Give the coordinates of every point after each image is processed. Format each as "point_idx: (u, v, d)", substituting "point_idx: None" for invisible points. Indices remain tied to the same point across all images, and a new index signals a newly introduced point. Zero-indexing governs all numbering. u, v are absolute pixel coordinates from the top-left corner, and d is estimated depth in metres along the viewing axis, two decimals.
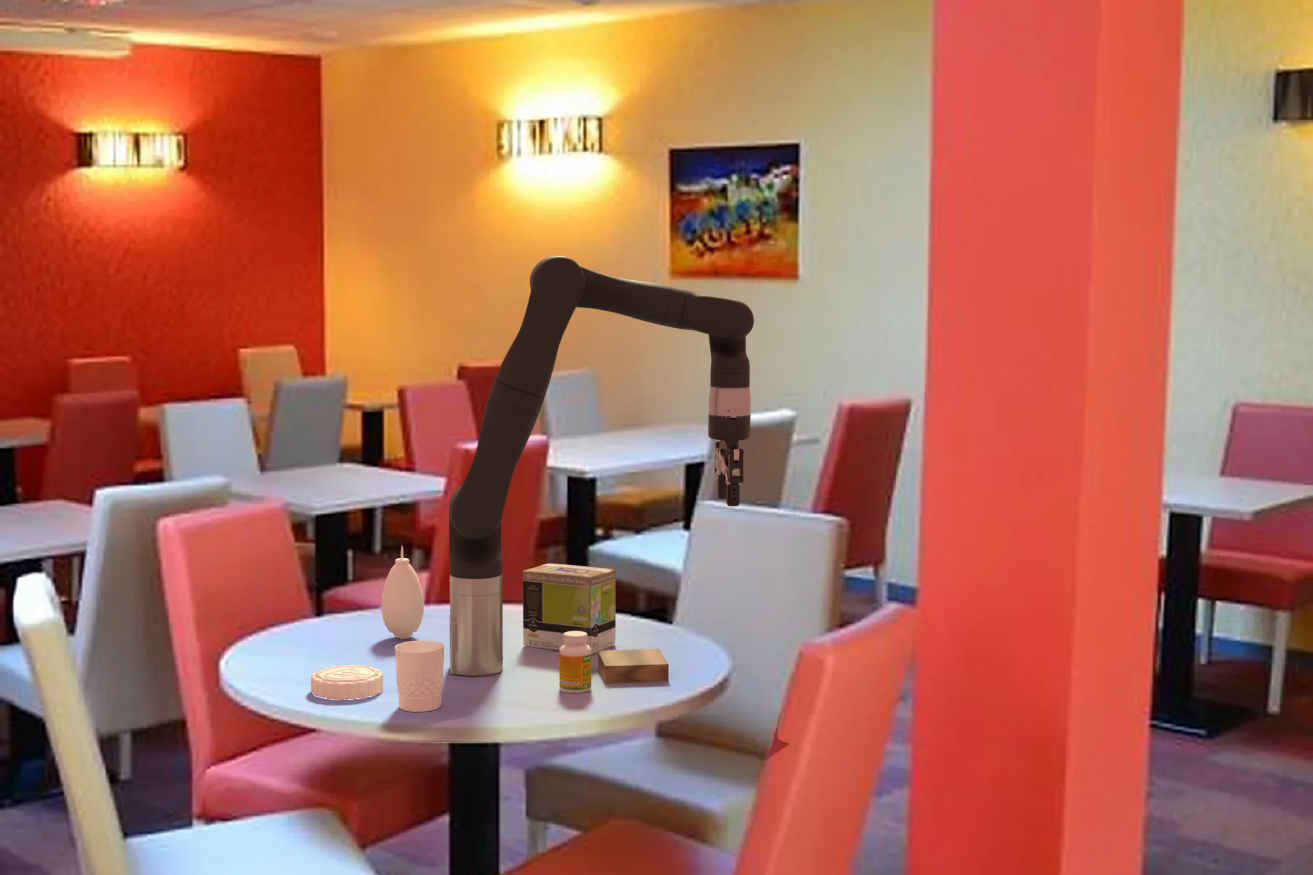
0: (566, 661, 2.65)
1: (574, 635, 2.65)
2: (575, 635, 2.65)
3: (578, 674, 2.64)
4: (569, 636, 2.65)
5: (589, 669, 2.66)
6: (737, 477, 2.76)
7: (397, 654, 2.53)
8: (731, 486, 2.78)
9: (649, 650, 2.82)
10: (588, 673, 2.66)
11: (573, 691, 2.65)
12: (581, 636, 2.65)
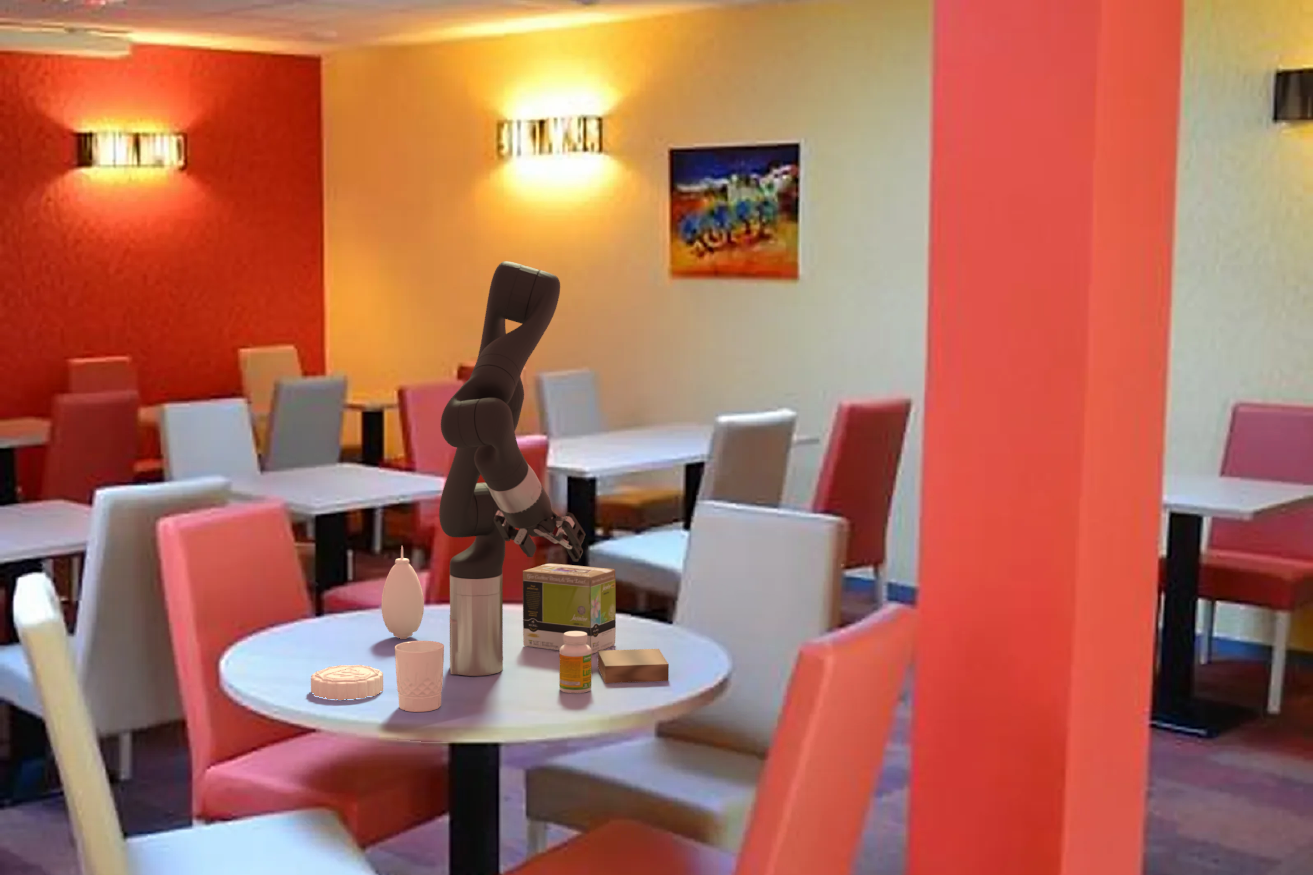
0: (566, 661, 2.65)
1: (574, 635, 2.65)
2: (575, 635, 2.65)
3: (578, 674, 2.64)
4: (569, 636, 2.65)
5: (589, 669, 2.66)
6: None
7: (397, 654, 2.53)
8: None
9: (649, 650, 2.82)
10: (588, 673, 2.66)
11: (573, 691, 2.65)
12: (581, 636, 2.65)
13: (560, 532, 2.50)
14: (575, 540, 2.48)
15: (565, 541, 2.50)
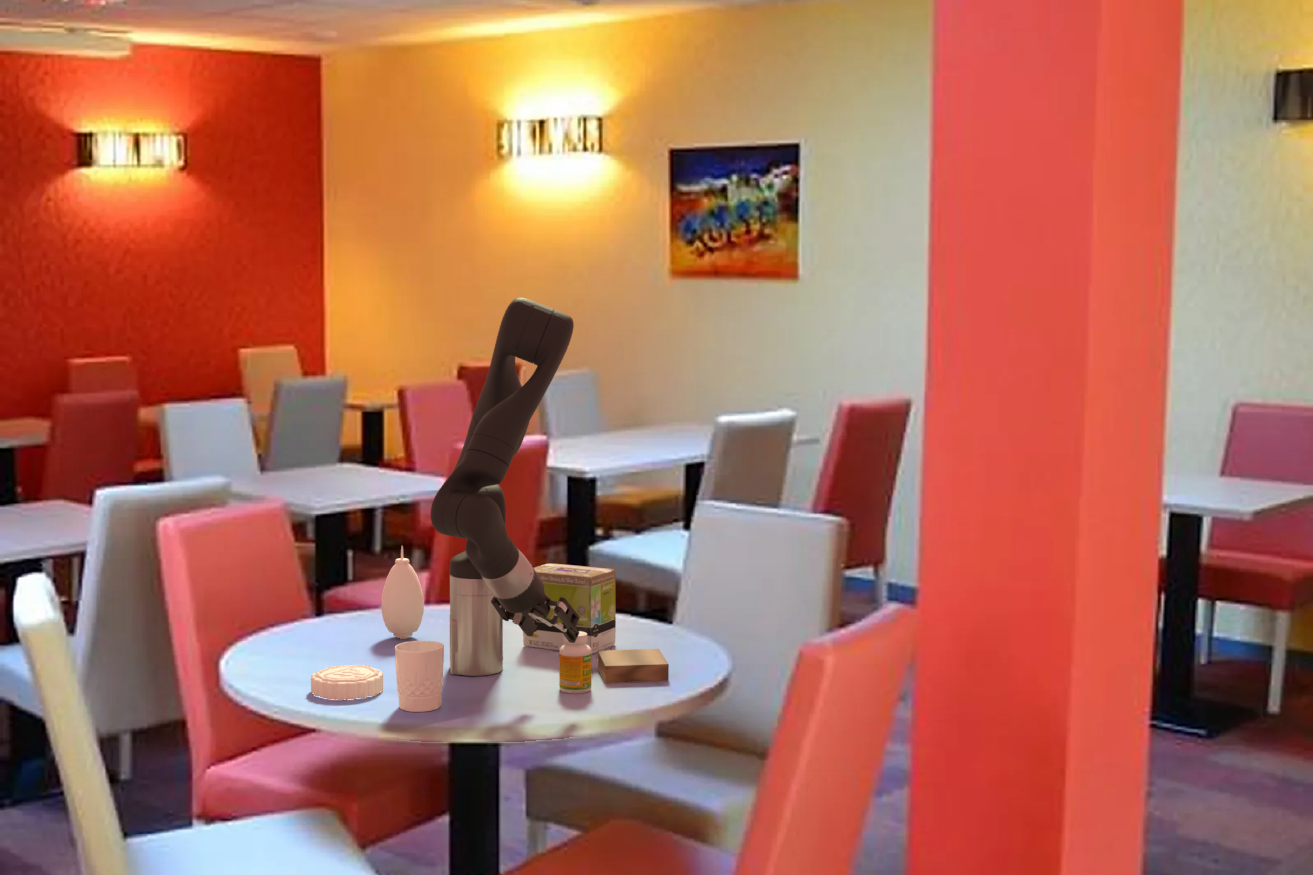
0: (566, 661, 2.65)
1: None
2: None
3: (578, 674, 2.64)
4: None
5: (589, 669, 2.66)
6: None
7: (397, 654, 2.53)
8: None
9: (649, 650, 2.82)
10: (588, 673, 2.66)
11: (573, 691, 2.65)
12: (581, 636, 2.65)
13: (555, 615, 2.54)
14: (568, 624, 2.52)
15: (559, 624, 2.54)
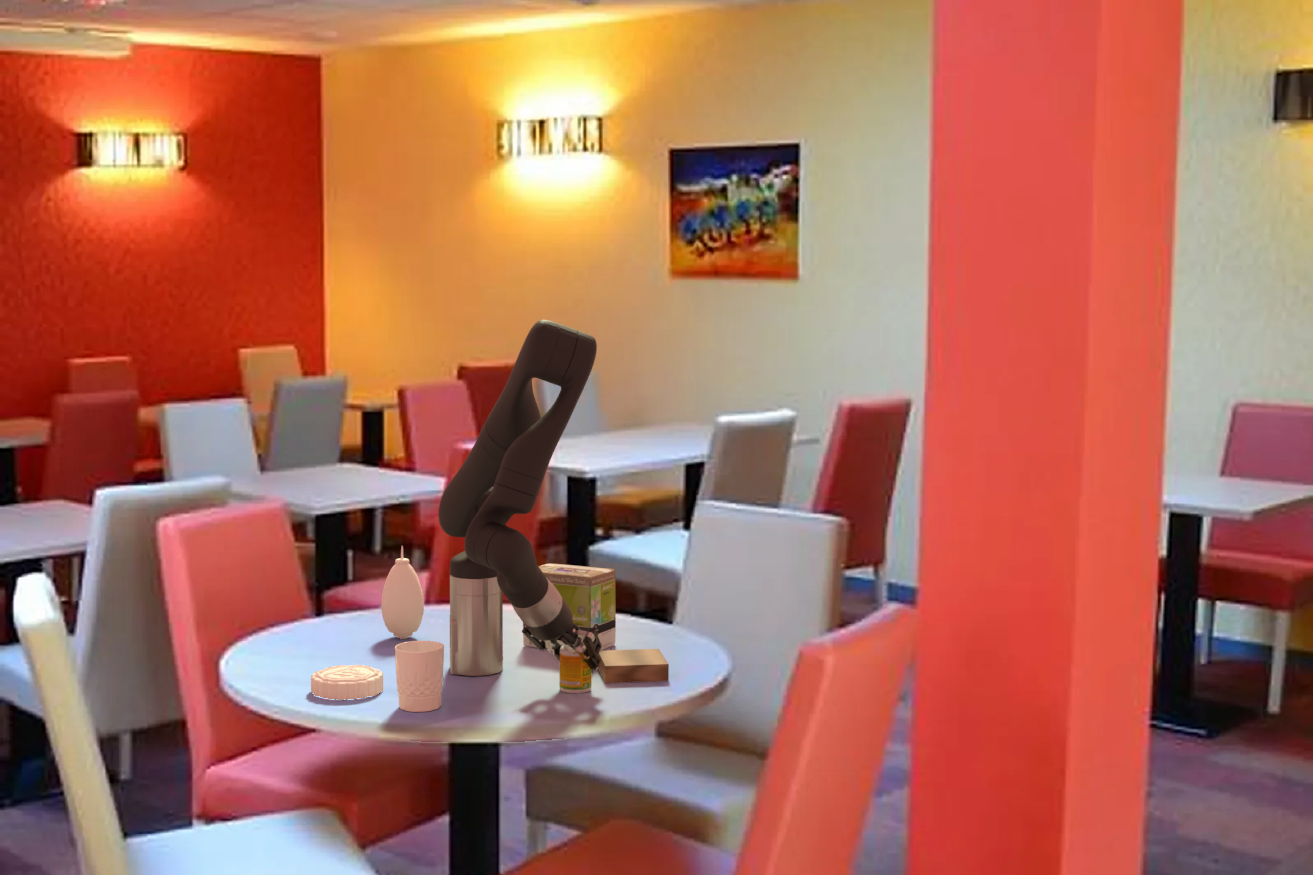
0: (566, 661, 2.65)
1: None
2: None
3: (578, 674, 2.64)
4: None
5: (589, 669, 2.66)
6: (540, 642, 2.68)
7: (397, 654, 2.53)
8: None
9: (649, 650, 2.82)
10: (588, 673, 2.66)
11: (573, 691, 2.65)
12: None
13: (580, 644, 2.62)
14: (593, 653, 2.61)
15: (583, 653, 2.62)
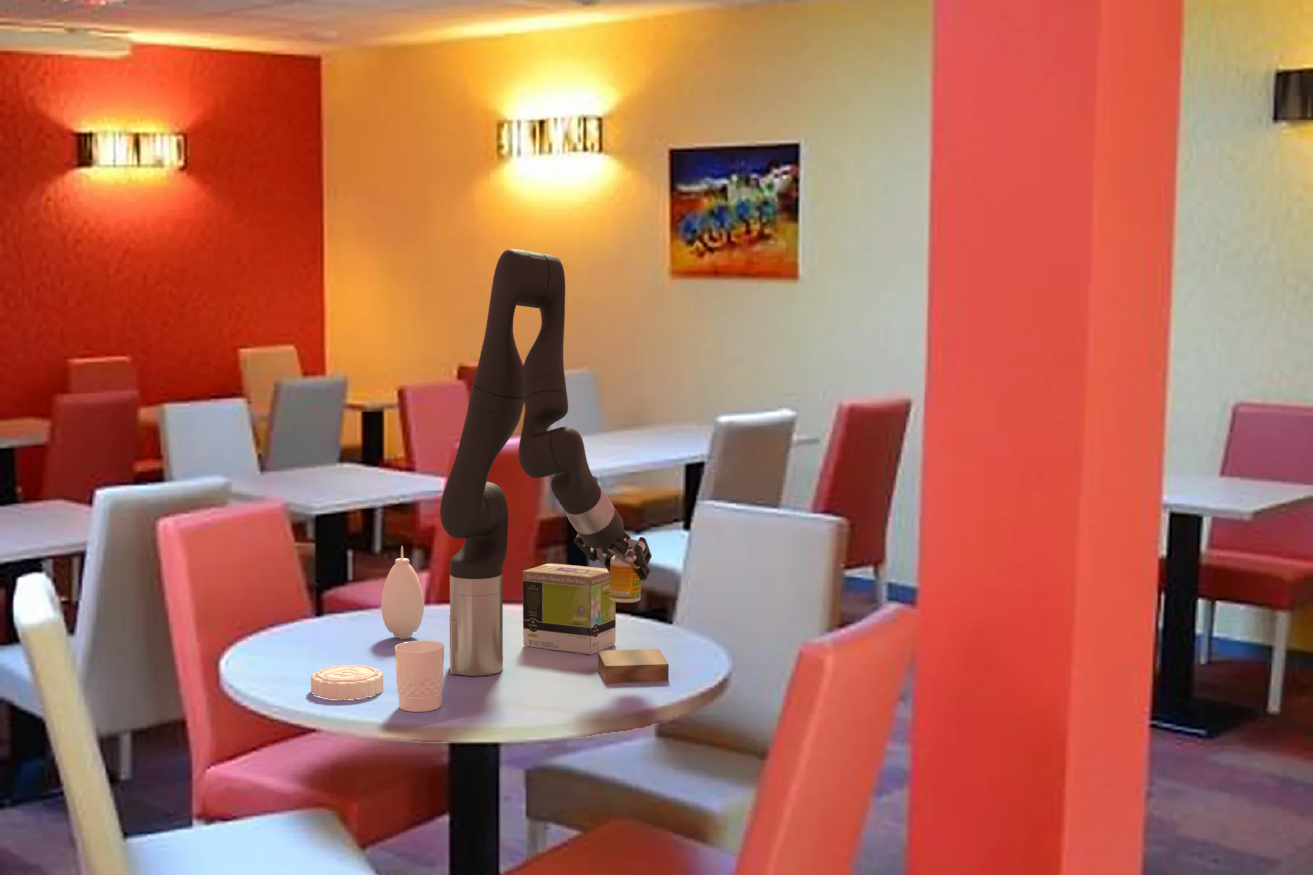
0: (616, 571, 2.72)
1: None
2: None
3: (628, 583, 2.71)
4: None
5: (639, 579, 2.73)
6: (592, 553, 2.75)
7: (397, 654, 2.53)
8: None
9: (649, 650, 2.82)
10: (638, 583, 2.73)
11: (623, 600, 2.72)
12: None
13: (630, 553, 2.69)
14: (643, 562, 2.68)
15: (634, 562, 2.69)
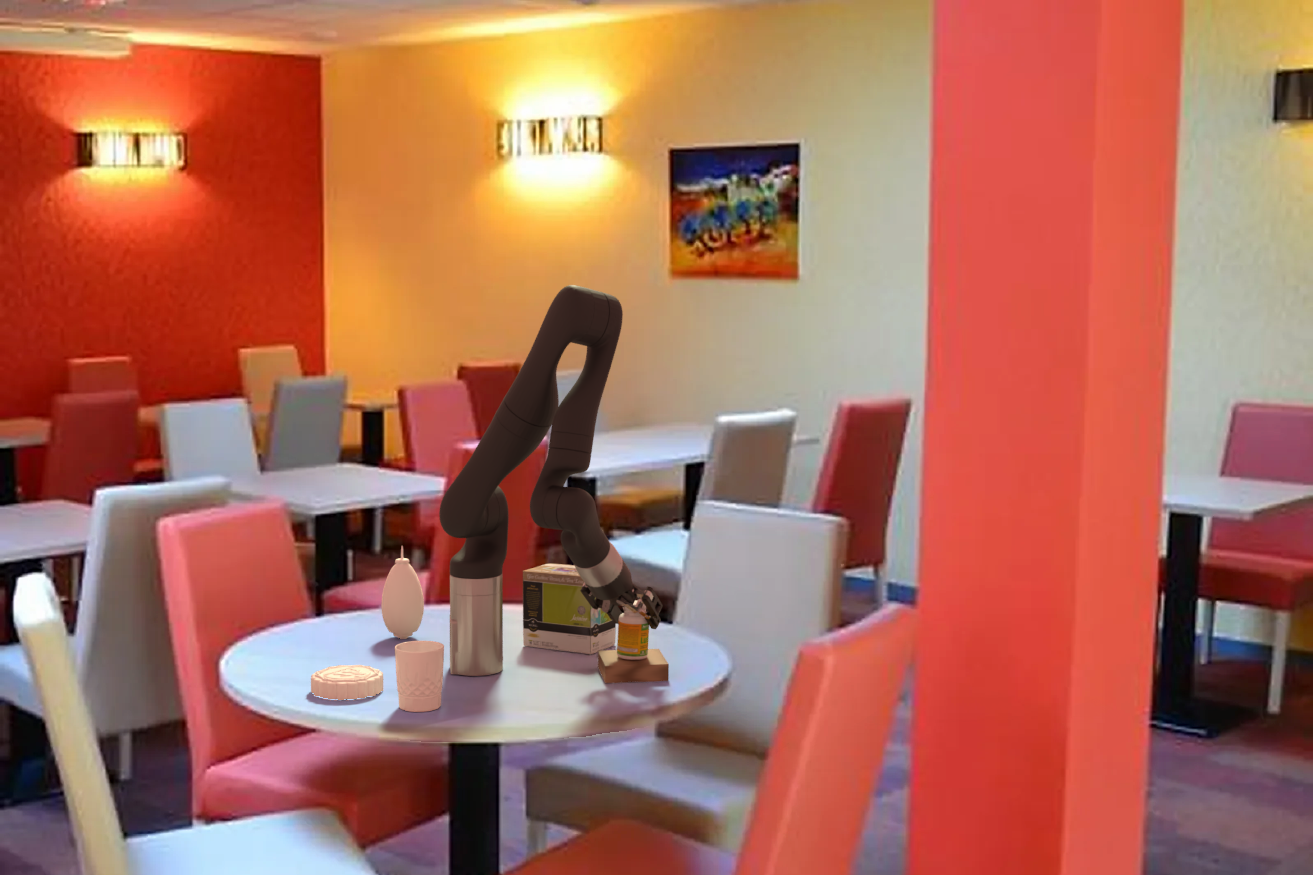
0: (625, 628, 2.75)
1: (634, 604, 2.75)
2: (635, 604, 2.75)
3: (636, 641, 2.74)
4: None
5: (646, 637, 2.76)
6: None
7: (397, 654, 2.53)
8: None
9: (649, 650, 2.82)
10: (645, 641, 2.76)
11: (630, 657, 2.75)
12: None
13: (640, 603, 2.72)
14: (653, 611, 2.70)
15: (644, 612, 2.72)
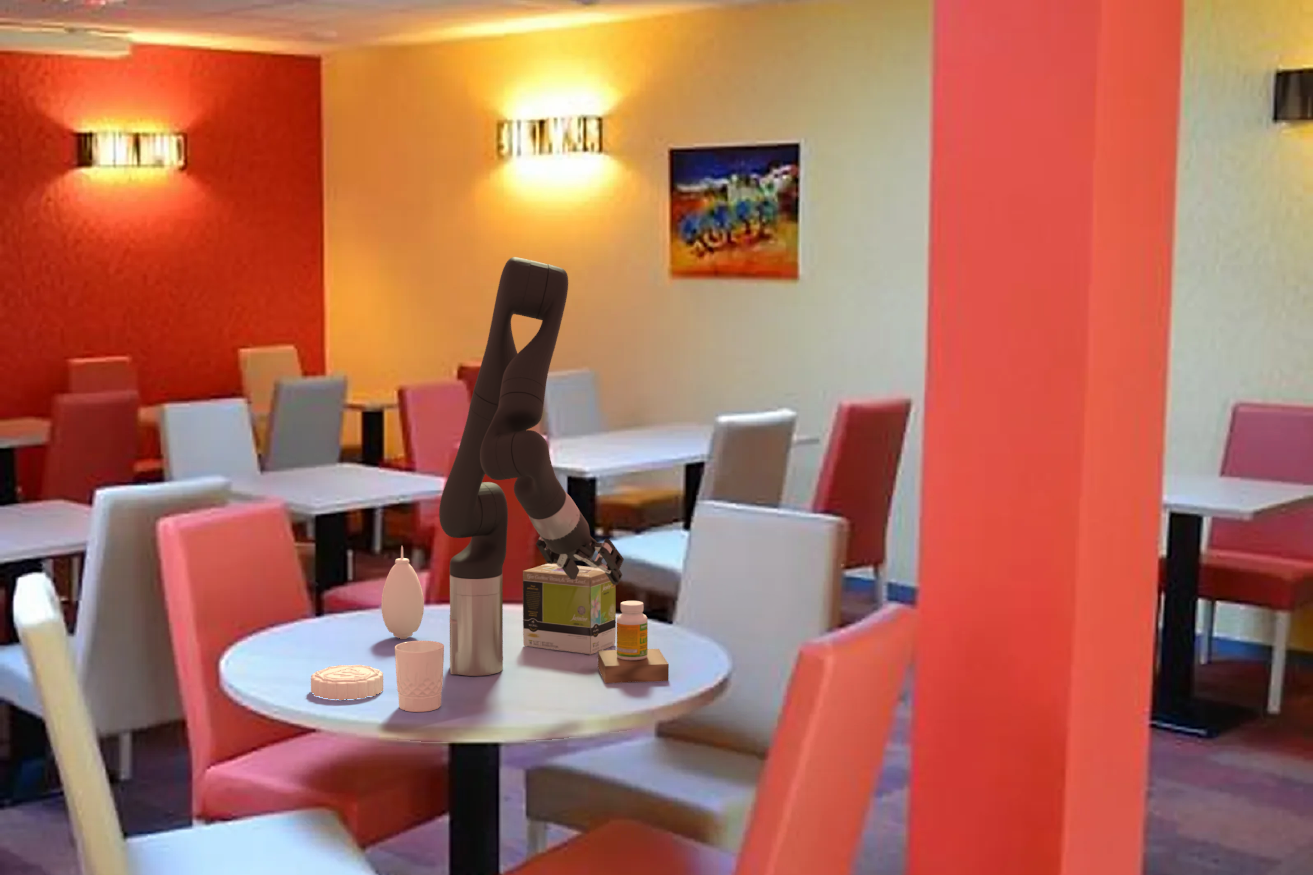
0: (623, 629, 2.74)
1: (631, 604, 2.75)
2: (632, 604, 2.75)
3: (635, 642, 2.74)
4: (626, 605, 2.75)
5: (645, 637, 2.76)
6: None
7: (397, 654, 2.53)
8: None
9: (649, 650, 2.82)
10: (645, 641, 2.76)
11: (630, 658, 2.75)
12: (638, 605, 2.75)
13: (599, 557, 2.59)
14: (613, 565, 2.57)
15: (604, 566, 2.59)
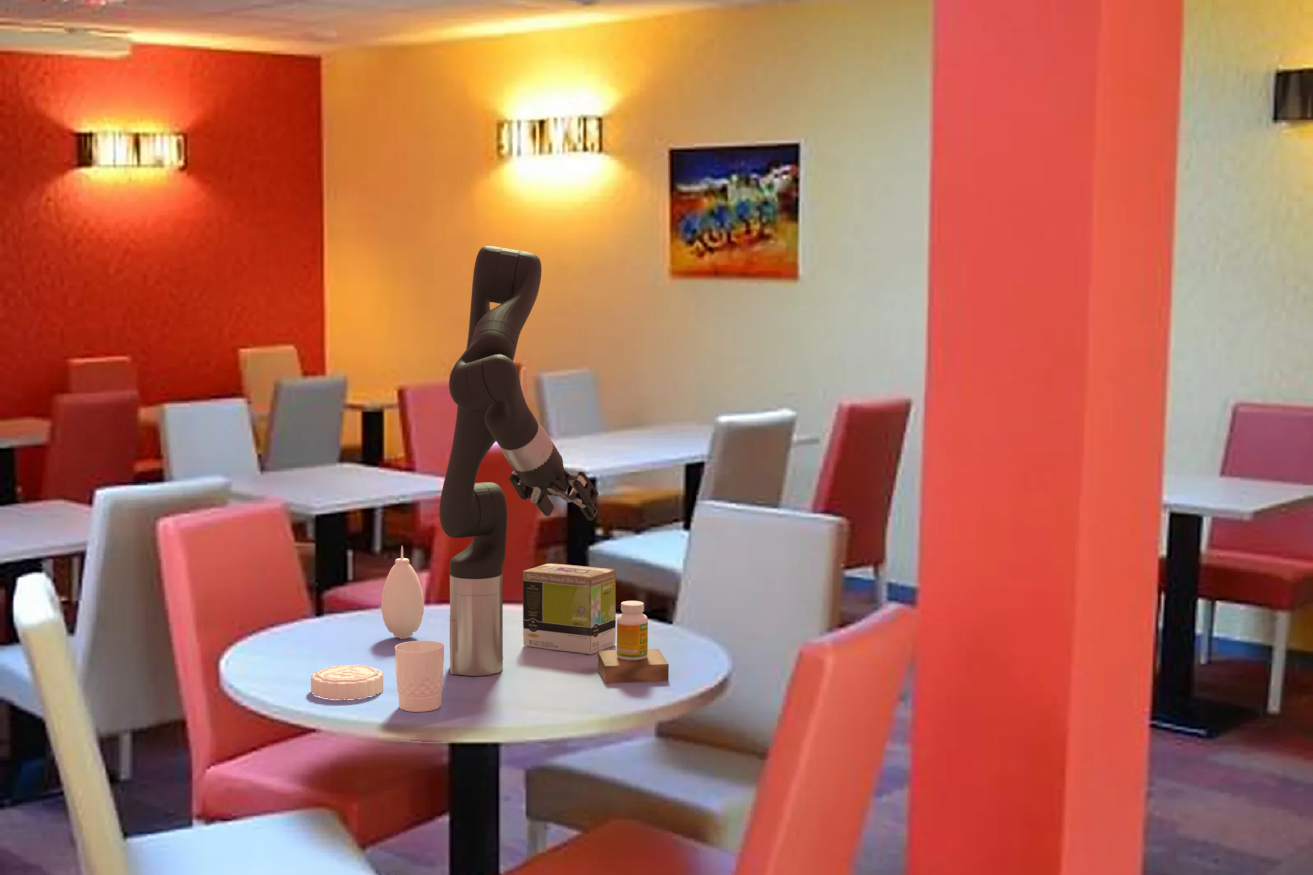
0: (623, 629, 2.74)
1: (631, 604, 2.75)
2: (632, 604, 2.75)
3: (635, 642, 2.74)
4: (627, 605, 2.75)
5: (646, 637, 2.76)
6: None
7: (397, 654, 2.53)
8: None
9: (649, 650, 2.82)
10: (645, 641, 2.76)
11: (631, 658, 2.75)
12: (638, 605, 2.75)
13: (573, 491, 2.53)
14: (587, 499, 2.52)
15: (578, 500, 2.53)
